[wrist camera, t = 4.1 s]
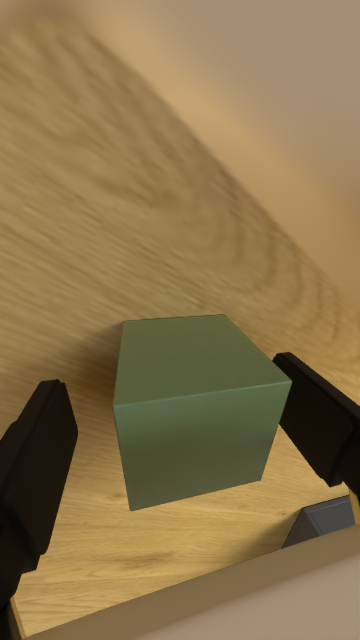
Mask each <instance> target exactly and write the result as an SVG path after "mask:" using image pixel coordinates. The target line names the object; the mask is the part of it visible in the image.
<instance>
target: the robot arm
mask: <svg viewBox="0 0 360 640" xmlns="http://www.w3.org/2000/svg"><path fill="white" fill-rule="evenodd" d="M272 362H273V363H274V364H275V365H276V366H277V367H278V368H279V369H280V370H281V371H282V372H283V373H284V374H285V375H286V376H287V377H288V378H289V379H290V380H291V381H292V384H291V387H290V390H289V393H288V396H287V399H286V403H285V406H284V409H283V412H282V415H281V418H280V421H279V425H280V426H281V427H282V429H283V430H284V431H285V433H286V434H287V435H288V437H289V438H290V439H291V441H292V442H293V443H294V445H295V446H296V447H297V449H298V450H299V451H300V453H301V454H302V455H303V457H304V458H305V459H306V461H307V462H308V463H309V465H310V466H311V467H312V469H313V470H314V471H315V473H316V474H317V475H318V476H319V477H320V478H322V479H324V481H325V482H326V483H327V485H328V486H329V487H333V486H337V485H340V484H342V482H343V481H344V483H345V484H346V485H347V486H348V489H349V495H350V500H351V505H352V510H353V515H354V520H355V525H353V526H350V527H347V528H344V529H341V530H337V531H334V532H331V533H328V534H325V535H322V536H319V537H316V538H313V539H310V540H307V541H304V542H301V543H298V544H295V545H292V546H289V547H286V548H283V549H280V550H277V551H274V552H271V553H268V554H265V555H262V556H259V557H256V558H253V559H250V560H247V561H244V562H241V563H238V564H235V565H232V566H229V567H226V568H223V569H220V570H217V571H214V572H211V573H208V574H205V575H202V576H199V577H196V578H193V579H191V580H188V581H185V582H182V583H179V584H176V585H173V586H170V587H167V588H164V589H161V590H158V591H155V592H152V593H149V594H146V595H144V596H141V597H138V598H135V599H132V600H129V601H126V602H123V603H120V604H117V605H114V606H111V607H108V608H106V609H103V610H100V611H97V612H95V613H92V614H89V615H86V616H84V617H81V618H78V619H75V620H73V621H70V622H67V623H64V624H62V625H59V626H56V627H53V628H51V629H48V630H45V631H43V632H40V633H37V634H34V635H32V636H29V637H27V638H26V635H25V631H24V628H23V625H22V622H21V619H20V616H19V613H18V610H17V607H16V603H15V600H14V597H13V595H14V594H15V593H16V590H17V587H18V584H19V581H20V578H21V574H23V573H27V572H30V571H34V570H36V569H37V565H38V562H39V558H40V555H43V554H45V553H46V551H47V549H48V546H49V543H50V539H51V535H52V531H53V528H54V524H55V520H56V516H57V513H58V509H59V505H60V501H61V498H62V494H63V490H64V486H65V483H66V479H67V475H68V471H69V468H70V464H71V460H72V456H73V453H74V449H75V445H76V441H77V437H78V428H77V424H76V421H75V417H74V414H73V410H72V406H71V403H70V399H69V396H68V392H67V389H66V385H65V383H64V382H62V383H60V381H59V380H58V379H56V380H47V381H41V382H40V383H39V385H38V386H37V388H36V390H35V391H34V393H33V395H32V396H31V398H30V400H29V401H28V403H27V404H26V406H25V408H24V409H23V411H22V413H21V414H20V416H19V418H18V419H17V421H15V422H13V423H12V424H11V425H10V426H9V428H8V429H7V431H6V432H5V434H4V436H3V437H2V439H1V440H0V640H360V406H359V405H357V404H356V403H355V402H354V401H352V400H351V399H350V398H348V397H347V396H346V395H345V394H343V393H342V392H341V391H339V390H338V389H337V388H336V387H334V386H333V385H332V384H331V383H329V382H328V381H327V380H325V379H324V378H323V377H322V376H320V375H319V374H318V373H316V372H315V371H314V370H313V369H311V368H310V367H309V366H308V365H306V364H305V363H304V362H302V361H301V360H300V359H299V358H297V357H296V356H295V355H293V354H292V353H290V352H285V353H278V354H276V356H275V357H274V358H273V361H272Z"/></svg>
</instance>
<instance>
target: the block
mask: <svg viewBox="0 0 360 640" xmlns="http://www.w3.org/2000/svg"><path fill="white" fill-rule="evenodd" d="M291 384H292V381H291V380H290V379H289V378H288V377H287V376H286V375H285V374H284V373H283V372H282V371H281V370H280V369H279V368H278V367H277V366H276V365H275V364H274V363H273V362H272V361H271V360H270V359H269V358H268V357H267V356H266V355H265V354H264V353H263V352H262V351H261V350H260V349H259V348H258V347H257V346H256V345H255V344H254V343H253V342H252V341H251V340H250V339H249V338H248V337H247V336H246V335H245V334H244V333H243V332H242V331H241V330H240V329H239V328H238V327H237V326H236V325H235V324H234V323H233V322H232V321H231V320H230V319H228V318H227V317H226V316H225V315H224V314H223V315H208V316H193V317H179V318H164V319H149V320H134V321H123V326H122V334H121V342H120V350H119V358H118V366H117V374H116V382H115V390H114V398H113V406H112V408H113V414H114V420H115V425H116V431H117V437H118V443H119V449H120V455H121V461H122V467H123V473H124V478H125V484H126V490H127V496H128V502H129V508H130V511H135V510H139V509H143V508H148V507H152V506H156V505H160V504H164V503H168V502H173V501H177V500H181V499H185V498H189V497H193V496H198V495H202V494H206V493H210V492H214V491H218V490H223V489H227V488H231V487H235V486H239V485H243V484H248V483H252V482H256V481H260V480H261V477H262V474H263V471H264V468H265V465H266V462H267V459H268V456H269V452H270V449H271V446H272V443H273V440H274V437H275V434H276V431H277V428H278V424H279V421H280V418H281V415H282V412H283V409H284V406H285V403H286V399H287V396H288V393H289V390H290V387H291Z"/></svg>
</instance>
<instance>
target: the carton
mask: <svg viewBox="0 0 360 640" xmlns="http://www.w3.org/2000/svg"><path fill="white" fill-rule="evenodd" d="M353 525H355V520H354V515H353V510H352V505H351V500H350V495H348V496H344V497H341V498H337V499H334V500H330V501H327V502H323V503H319V504H316V505H312V506H309V507H305V508H303V509H302V511H301V513H300V515H299V517H298V519H297V521H296V522H295V524H294V526H293V528H292V530H291V532H290V534H289V536H288V538H287V540H286V541H285V543H284V545H283V547H282V549H283V548H286V547H289V546H292V545H295V544H298V543H301V542H304V541H307V540H310V539H313V538H316V537H319V536H322V535H325V534H328V533H331V532H334V531H337V530H341V529H344V528H347V527H350V526H353Z"/></svg>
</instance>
